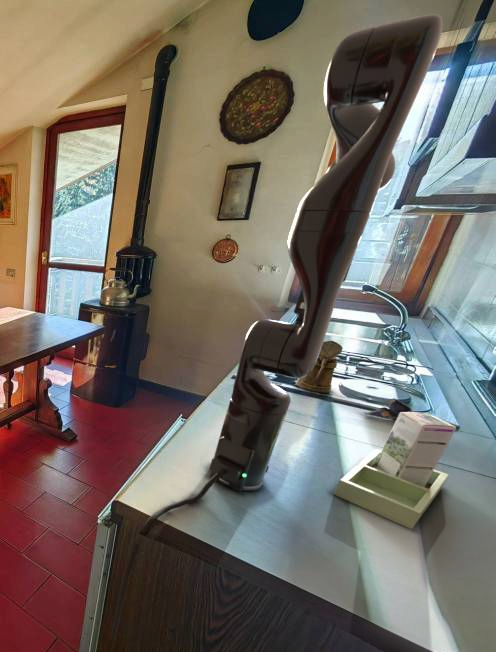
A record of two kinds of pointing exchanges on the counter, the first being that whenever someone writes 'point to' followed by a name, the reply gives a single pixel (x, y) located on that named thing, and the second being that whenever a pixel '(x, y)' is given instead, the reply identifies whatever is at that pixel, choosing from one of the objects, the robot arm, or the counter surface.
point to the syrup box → (414, 446)
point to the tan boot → (322, 369)
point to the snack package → (390, 410)
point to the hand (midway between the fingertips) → (305, 331)
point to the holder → (388, 491)
